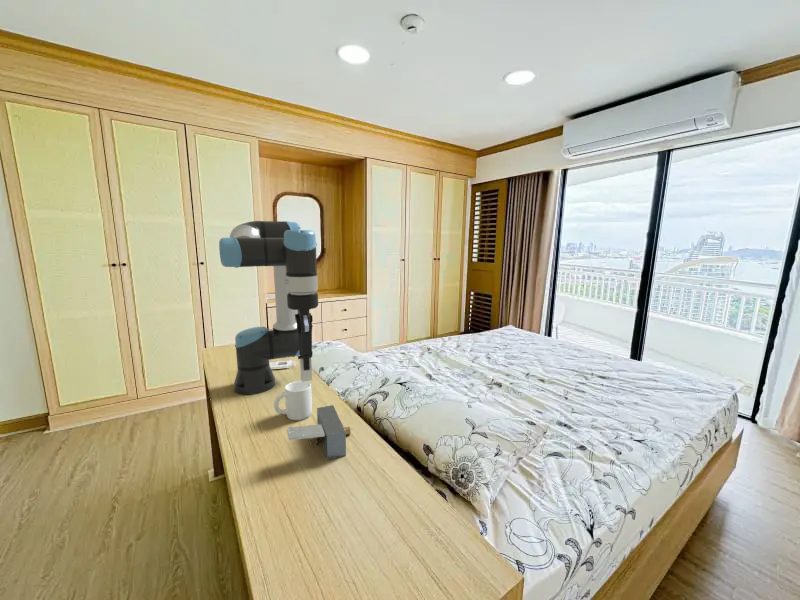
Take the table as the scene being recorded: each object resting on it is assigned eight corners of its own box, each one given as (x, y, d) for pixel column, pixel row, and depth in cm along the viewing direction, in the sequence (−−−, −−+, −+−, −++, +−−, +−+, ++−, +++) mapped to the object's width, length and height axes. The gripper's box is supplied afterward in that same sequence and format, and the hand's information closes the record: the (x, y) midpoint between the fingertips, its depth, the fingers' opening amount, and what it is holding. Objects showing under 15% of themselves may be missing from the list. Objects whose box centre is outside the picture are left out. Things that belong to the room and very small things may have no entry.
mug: (277, 426, 104) (275, 396, 103) (273, 415, 111) (270, 386, 110) (315, 417, 110) (314, 387, 108) (308, 406, 117) (307, 378, 116)
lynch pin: (310, 446, 95) (310, 438, 94) (308, 438, 98) (308, 431, 98) (351, 437, 99) (351, 429, 99) (348, 430, 103) (347, 423, 102)
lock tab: (287, 430, 89) (287, 427, 89) (321, 426, 92) (321, 424, 92) (288, 440, 84) (288, 437, 84) (324, 436, 88) (324, 433, 88)
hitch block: (317, 429, 103) (316, 408, 102) (333, 425, 105) (333, 405, 104) (327, 459, 89) (326, 435, 87) (346, 455, 91) (345, 431, 89)
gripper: (285, 289, 88) (289, 372, 93) (288, 297, 77) (294, 392, 81) (313, 287, 91) (317, 368, 96) (321, 295, 79) (325, 387, 84)
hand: (306, 379), depth 88 cm, fingers closed
